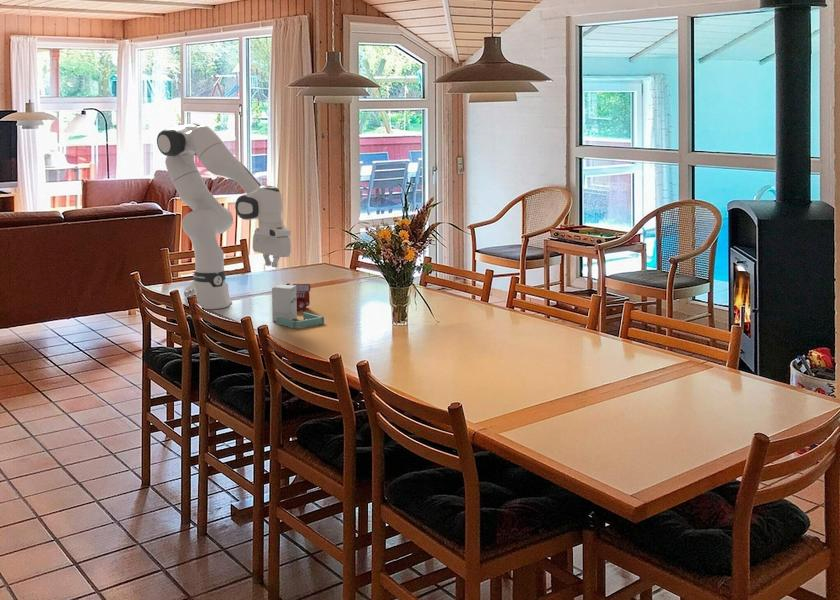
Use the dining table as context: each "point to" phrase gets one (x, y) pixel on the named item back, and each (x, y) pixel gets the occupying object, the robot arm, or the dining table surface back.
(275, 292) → the supplement box
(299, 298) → the toy fire truck
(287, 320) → the tray
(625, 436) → the dining table surface
